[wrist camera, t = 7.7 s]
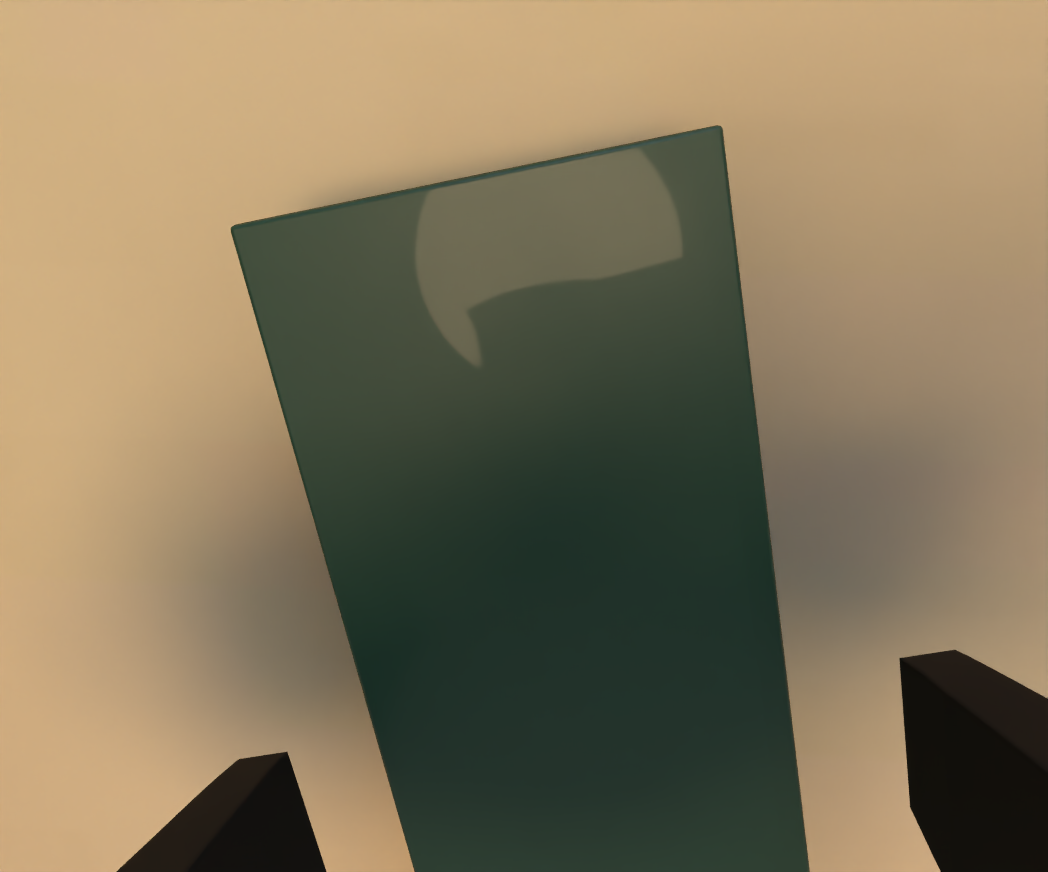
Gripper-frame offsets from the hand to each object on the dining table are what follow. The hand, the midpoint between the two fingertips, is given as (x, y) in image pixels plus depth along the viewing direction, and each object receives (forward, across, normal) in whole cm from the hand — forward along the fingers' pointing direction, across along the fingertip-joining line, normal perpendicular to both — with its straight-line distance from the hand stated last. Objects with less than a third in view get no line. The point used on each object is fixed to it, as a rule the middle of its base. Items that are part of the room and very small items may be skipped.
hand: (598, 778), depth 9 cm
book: (+4, 0, 0) cm, 4 cm away
